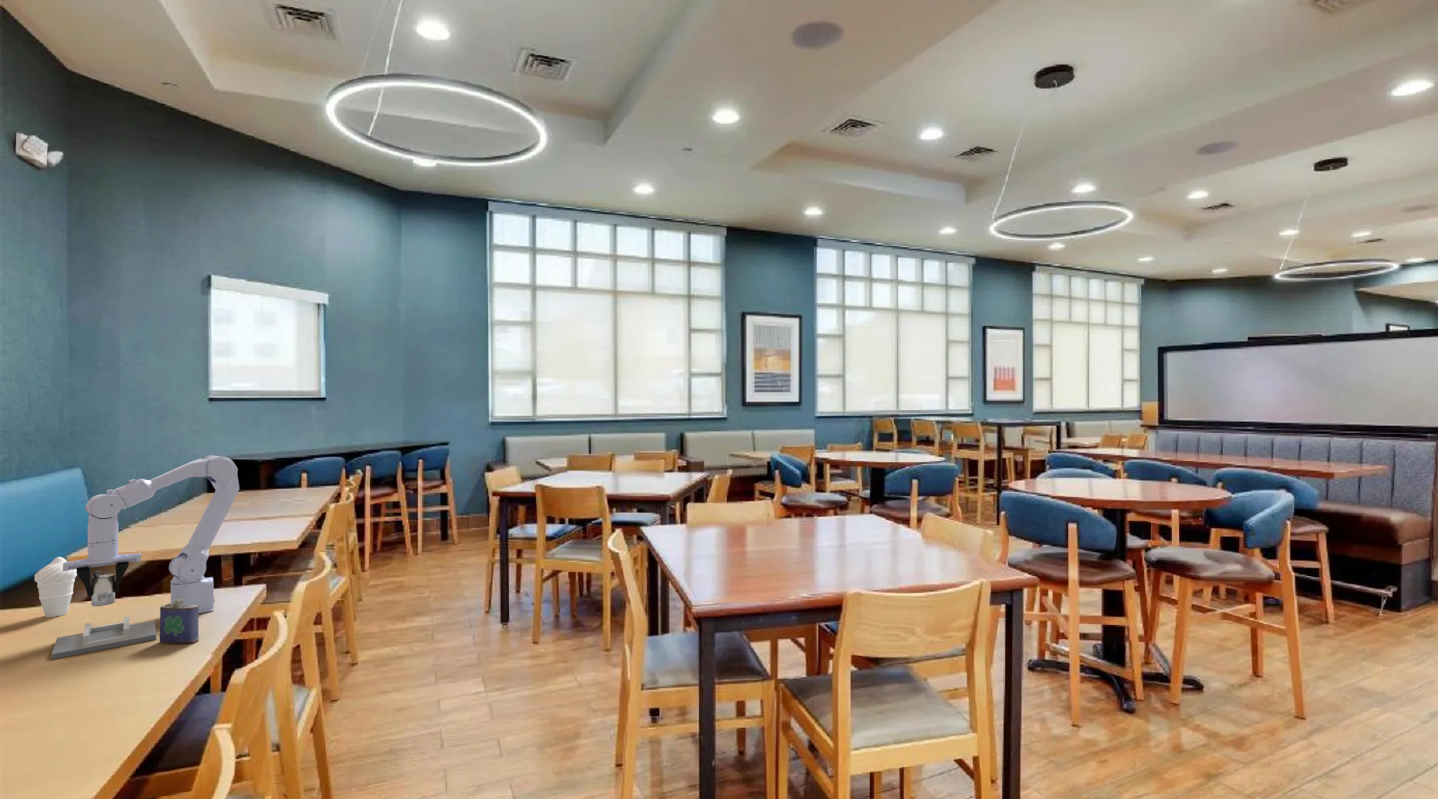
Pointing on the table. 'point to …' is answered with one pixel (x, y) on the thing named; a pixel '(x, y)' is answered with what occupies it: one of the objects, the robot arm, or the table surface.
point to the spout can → (102, 589)
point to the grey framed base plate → (104, 638)
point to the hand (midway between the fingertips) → (103, 593)
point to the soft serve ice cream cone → (55, 587)
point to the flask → (179, 623)
